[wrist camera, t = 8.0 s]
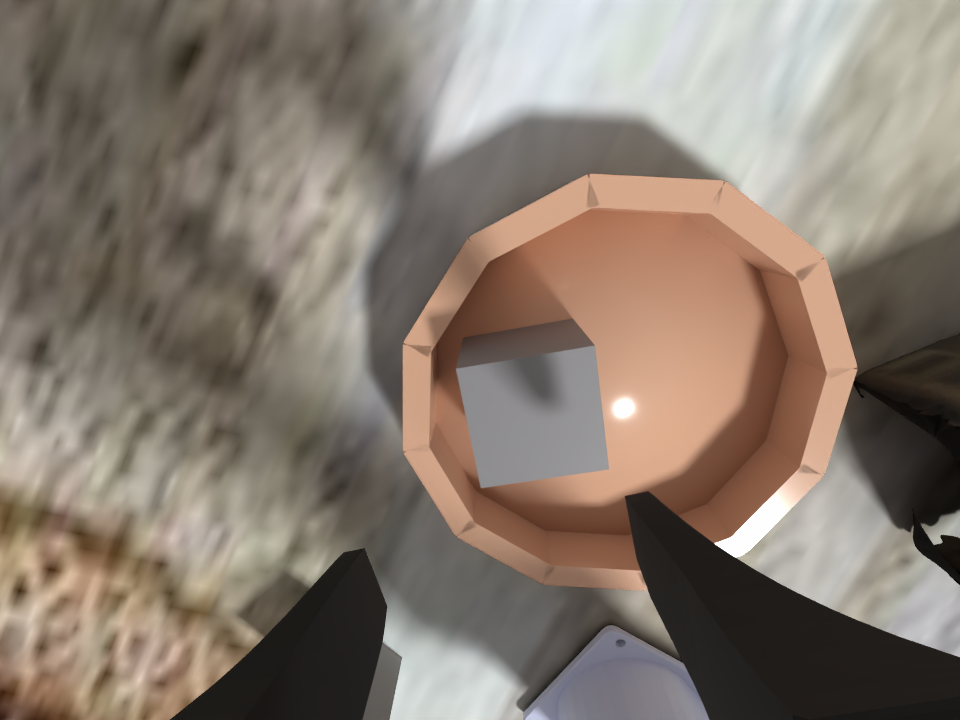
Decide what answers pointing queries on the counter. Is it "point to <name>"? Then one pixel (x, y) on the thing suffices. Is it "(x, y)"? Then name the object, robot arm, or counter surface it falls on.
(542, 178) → the counter surface
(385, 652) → the grey cube
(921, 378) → the juice carton
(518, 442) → the grey cube
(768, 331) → the bowl
